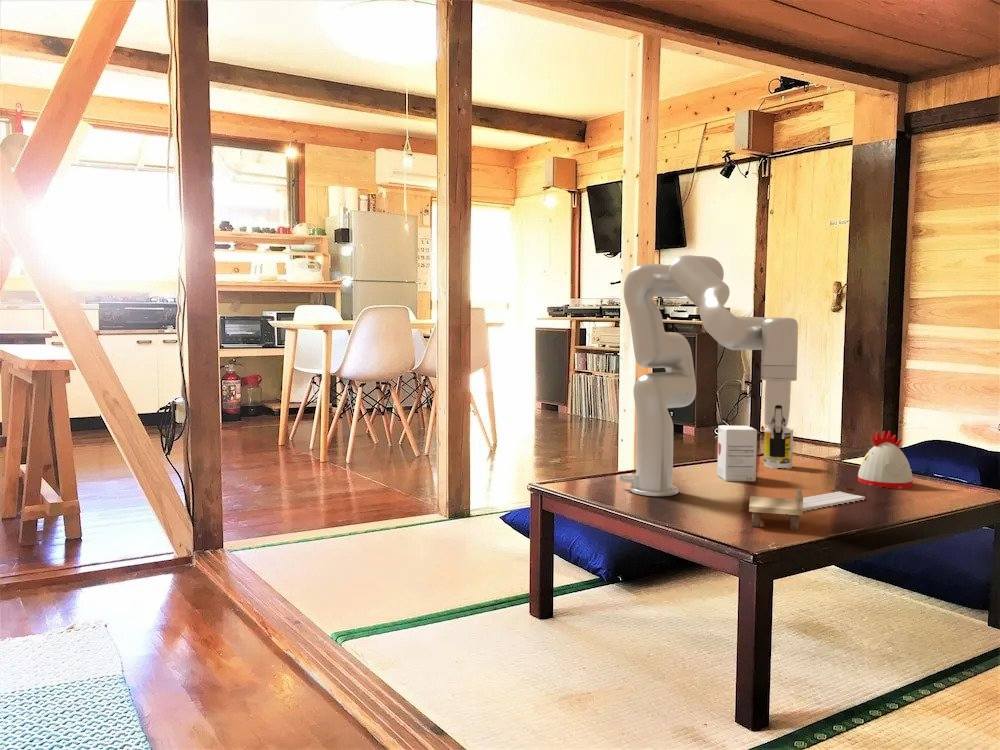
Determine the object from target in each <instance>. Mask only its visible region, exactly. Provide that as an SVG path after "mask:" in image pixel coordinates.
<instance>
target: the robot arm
mask: <svg viewBox="0 0 1000 750" xmlns="http://www.w3.org/2000/svg"><path fill="white" fill-rule="evenodd" d="M724 275H725V272H724V268H723V266H722V263H721V262H720V261H718V259H716V258H714V257H712V256H706V255H705V256H703V255H690V254H686V255H681V256H678V257H676V258H675V259H673V261H671V263H670V264H662V263H660V264H658V263H657V264H656V263H644V264H639V265H637V266H635V267H633V268H632V269H631V270H630V271H629V272H628V273H627V276H625V277H626V278H625V280H624V284H623V299H624V303H625V305H626V306H625V308H626V310H627V313H628V317H629V322H630V332H631V333H630V334H631V339H632V345H633V347H632V348H633V352H634V359H635V361H636V363H637V364H638V365H639V366H640V367H641V368H645V369H661V368H662V369H663V368H664V370H665V372H663V371H662V372H650V373H645V374H643V375H641V376H640V377H638V378H637V380H635V383H634V384H633V399H634V404H635V411H636V412H635V413H636V458H635V459H636V462H635V463H636V465H635V469H636V470H635V473H632V474H631V475H628V474H620V475H619V482H620V483H621V482H622V483H625V484H629V483H630V484H631V485H630V486H629V490H630V492H632V493H633V494H635V495H641V496H647V497H671V496H674V495H675V496H676V495H678V493H679V487H677V486H676V485H673V483H674V482H673V475H674V472H673V471H674V470H673V468H674V467H673V466H674V465H673V464H674V423H673V420H672V416H671V415H670V412H669V411H668V409H675V408H684V407H687V406H690V405H691V404H692V403H693V402H694V400H695V398H696V394H697V382H696V375H695V367H694V361H693V359H694V358H693V355H692V348H691V345H690V343H689V341H688V339H687V338H686V336H684V335H683V334H681V333H678V332H674V331H673V332H672V331H671V332H670V331H669V332H666V331H665V327H664V321H663V314H662V313H661V310H660V308H659V307H658V305H657V303H656V302H655V301H654V299H653V298H655V297H657V298H658V297H659V298H683V297H687V299H688V300H689V301H690V302H692V303H693V305H695V306H696V307H697V309H699V317H700V320H701V324H702V326H703V329H704V330H705V331H706V332H707V333H708V334H709V335H710V336H711V337H712V338H713V340H715V342H717V343H718V344H719V345H721V346H722V347H724V348H726V349H727V350H732V351H746V350H747V351H749V350H750V351H758V350H759V351H760V350H761V363H760V364H761V365H760V372H761V373H760V380H762V381H765V386H764V417H763V418H764V421H763V422H764V424H765V426H768V425H769V424H768V423H771V438H770V456H771V457H785V439H784V431H785V426H786V425H787V424H788V425H789V417H790V409H791V393H792V392H791V390H792V388H791V387H792V382H797V381H798V349H799V348H798V347H799V346H798V345H799V344H798V341H799V324H798V321H797V320H796V319H795V318H792V317H769V318H768V317H764V316H763V317H762V316H760V317H759V316H736V315H734V314H733V313H732V312H731V311H729V310H728V309H727V308H726V307H725V305H726V303H727V302H728V300H729V297H730V293H731V291H730V288H729V286H728V284H726V283H725V282H724ZM773 422H775V424H773ZM781 422H783V424H781ZM788 425H787V426H788Z"/></svg>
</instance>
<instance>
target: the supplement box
mask: <svg viewBox="0 0 1000 750" xmlns="http://www.w3.org/2000/svg"><path fill="white" fill-rule="evenodd" d="M757 442H758V430H757V429H755V428H754V427H752V426H750V425H727V424H723V425H718V426H717V467H716V468H717V471H716V472H717V473H716V475H717V476H718V477H719V478H721V480H723V481H725V482H756V480H757V479H756V478H757V447H758V443H757Z"/></svg>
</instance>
